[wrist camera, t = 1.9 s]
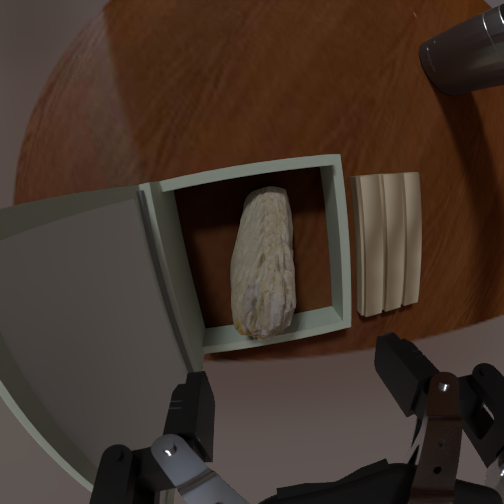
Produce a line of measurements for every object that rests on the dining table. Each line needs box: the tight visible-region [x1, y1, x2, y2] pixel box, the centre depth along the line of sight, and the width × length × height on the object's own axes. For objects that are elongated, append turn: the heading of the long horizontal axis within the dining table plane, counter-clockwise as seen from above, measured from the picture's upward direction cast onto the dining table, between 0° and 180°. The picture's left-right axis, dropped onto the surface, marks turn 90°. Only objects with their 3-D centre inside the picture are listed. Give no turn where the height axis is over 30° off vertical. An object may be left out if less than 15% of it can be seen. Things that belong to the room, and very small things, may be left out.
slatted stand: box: [350, 172, 422, 317], centre depth 30 cm, size 9×17×2 cm, turn 9°
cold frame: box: [0, 154, 351, 504], centre depth 18 cm, size 19×19×25 cm
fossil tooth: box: [230, 186, 296, 342], centre depth 25 cm, size 12×6×15 cm
